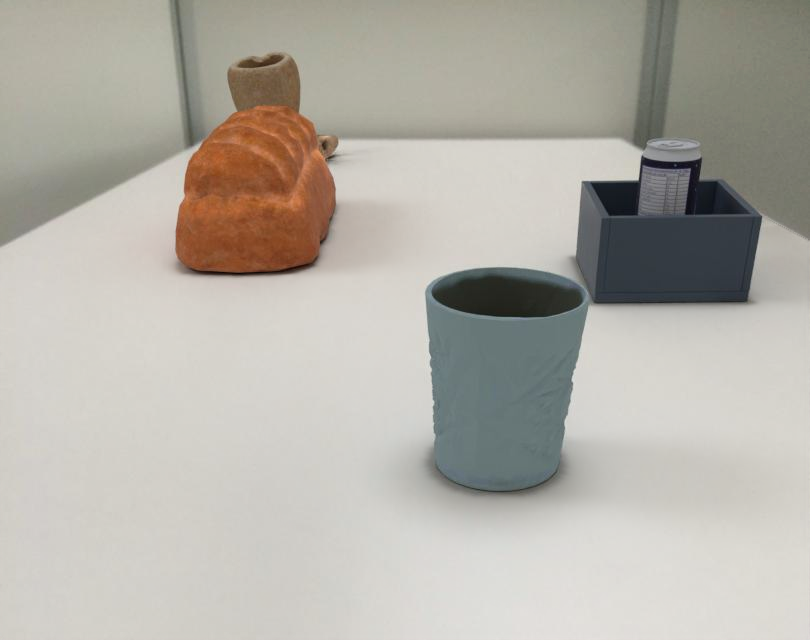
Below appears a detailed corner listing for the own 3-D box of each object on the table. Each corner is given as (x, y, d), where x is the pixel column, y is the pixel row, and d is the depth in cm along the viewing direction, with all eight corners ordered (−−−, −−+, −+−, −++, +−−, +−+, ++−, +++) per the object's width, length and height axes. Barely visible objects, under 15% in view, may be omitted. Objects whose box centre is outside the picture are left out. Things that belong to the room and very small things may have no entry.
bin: (711, 256, 105) (723, 178, 100) (747, 301, 92) (763, 216, 88) (575, 257, 105) (581, 180, 101) (594, 302, 93) (601, 218, 88)
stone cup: (223, 169, 145) (210, 58, 137) (248, 152, 155) (238, 48, 147) (321, 171, 143) (314, 58, 135) (340, 154, 152) (335, 48, 144)
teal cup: (403, 444, 69) (400, 278, 62) (527, 417, 72) (536, 256, 66) (468, 511, 61) (472, 329, 55) (604, 477, 64) (622, 301, 58)
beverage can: (698, 272, 97) (716, 145, 90) (649, 280, 95) (665, 151, 88) (665, 257, 101) (680, 135, 95) (618, 264, 99) (631, 140, 93)
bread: (341, 200, 128) (335, 92, 121) (314, 274, 102) (305, 142, 95) (224, 201, 129) (212, 94, 122) (167, 275, 102) (147, 144, 95)
